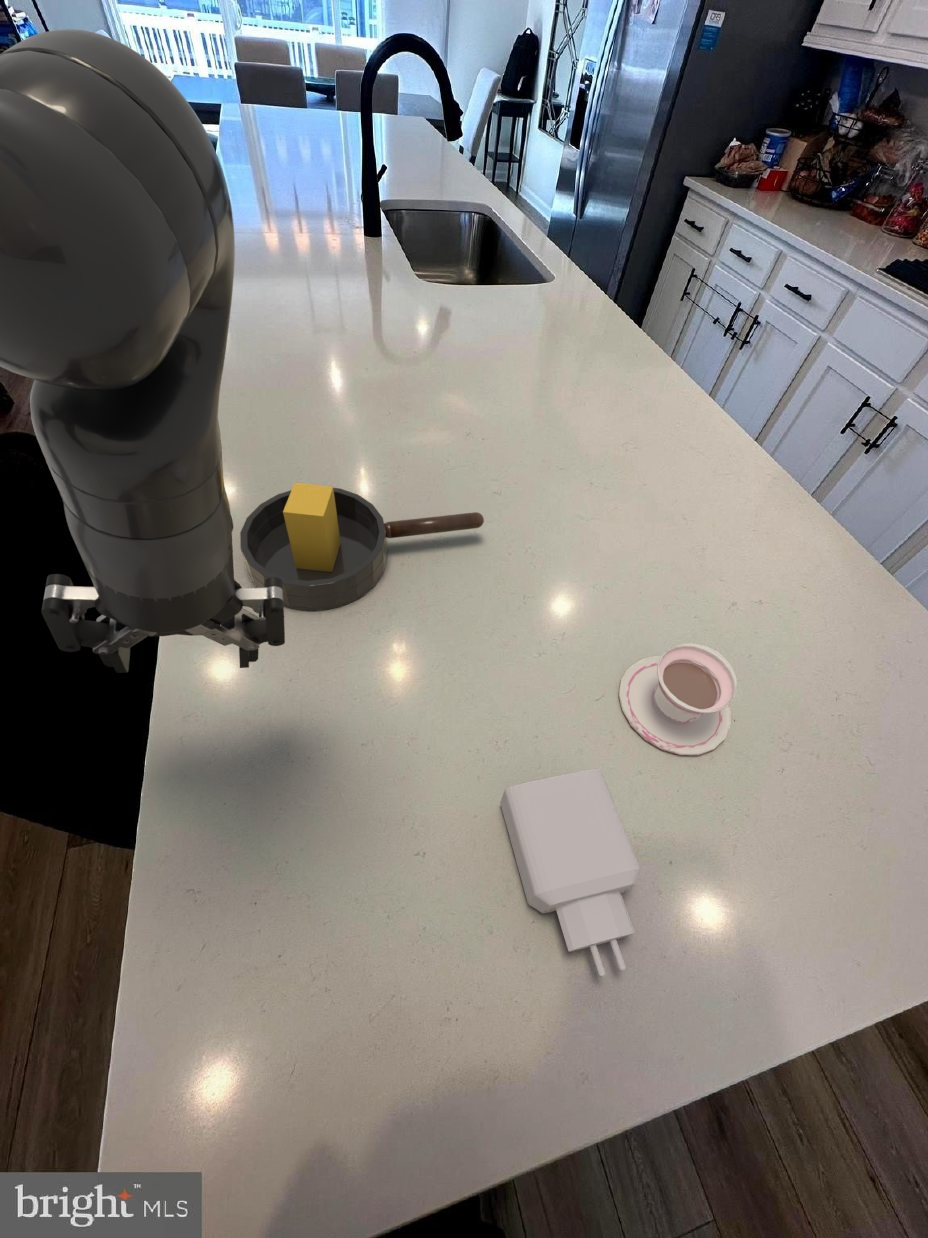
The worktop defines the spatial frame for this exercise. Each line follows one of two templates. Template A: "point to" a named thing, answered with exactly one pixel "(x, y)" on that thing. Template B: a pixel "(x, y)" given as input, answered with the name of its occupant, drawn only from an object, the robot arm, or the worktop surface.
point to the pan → (312, 588)
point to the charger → (574, 857)
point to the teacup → (680, 698)
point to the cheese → (312, 526)
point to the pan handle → (433, 525)
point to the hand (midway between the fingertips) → (186, 659)
